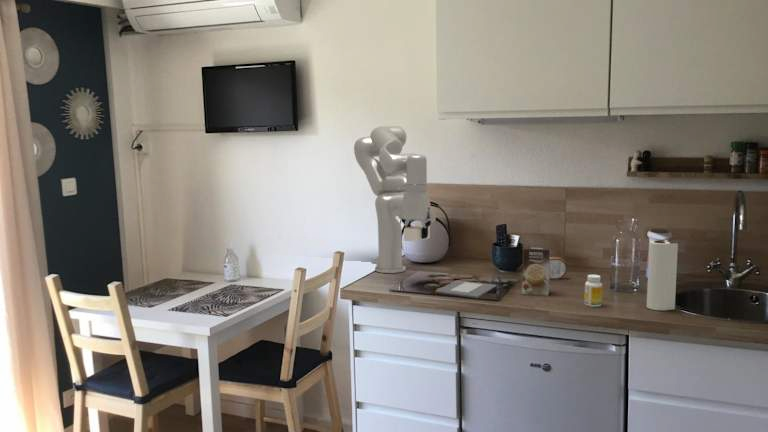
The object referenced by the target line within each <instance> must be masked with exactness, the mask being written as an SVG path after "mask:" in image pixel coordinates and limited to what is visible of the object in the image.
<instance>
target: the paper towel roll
mask: <svg viewBox="0 0 768 432" xmlns="http://www.w3.org/2000/svg"><path fill="white" fill-rule="evenodd" d="M678 248H679V243H678V242H677V243H676V242H675V243H671V242H669V241H664V240H650V241H649V242H648V263H647V264H648V267H647V290H646V293H647V294H646V308H647V309H649V310H653V311H670V310H675V309H676V292H677V291H676V289H677V272H678V271H677V268H678V253H679V252H678Z"/></svg>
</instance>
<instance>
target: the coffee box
mask: <svg viewBox="0 0 768 432" xmlns="http://www.w3.org/2000/svg"><path fill="white" fill-rule="evenodd" d="M522 253H523V255H522V286H521V294H522V295H530V296H531V295H534V296H545V297H546V296H549V293H550V279H549V273H550V257H551V247H550V246H542V245H541V246H537V245H524V246H523V250H522Z"/></svg>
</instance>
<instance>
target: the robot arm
mask: <svg viewBox="0 0 768 432" xmlns="http://www.w3.org/2000/svg"><path fill="white" fill-rule="evenodd" d="M406 142H407V133H406V131H405V130H404V128H403V127H401V126H397V125H395V126H393V125H391V126H388V125H386V126H384V125H383V126H378V127H375V128H374V129H373V130H372V131H371V133H370V136H363V137H360V138H357V140H356V141H355V142H354V145H353V146H354V147H353V150H354V151H353V152H354V153H353V154H354V157H355V160H356V162H357V164H358V165H359V167H360V169H361V170H362V171H363V172H364V175H365V176H366V180H367V181H368V183H369V186H370V189H371V191H372V193H373V194H374V195H375V196H376V199H375V201H374V205H375V212H376V219H377V233H378V234H377V236H378V237H377V239H378V241H377V242H378V243H377V244H378V245H377V246H378V258H374V257H373V258H372V259H371V260H370V261H371V263H370V264H373V265H376V266H375V267H374V271H376V272H377V273H382V274H397V273H402V272H403V273H404V272H405V271H406V270H407V267H406V265H403V246H402V245H403V243H402V242H403V237H402V233H403V232H402V229H403V228H402V225H401V223H402V224H403V225H404V228H406V227H412V226H413V225H412V222H413V221H421V224H422V226H423V228H422V239H425V238H427V236H428V227H429V226H430V227H431V224H433V222H435V221H436V219H437V218H436V216H435V215H434V214H433V212H432V209H431V199H430V194H429V192H427V191H428V179H427V178H428V176H427V175H428V174H427V173H428V171H427V165H428V163H427V157H426V155H423V154H418V153H402V150H403V147H404V146H405V144H406ZM375 157H376V158H375ZM377 157H378V159H377ZM397 217H398V219H399V220H400V221H401V223H400V222H399V220H398V219H397ZM425 240H426V239H425Z"/></svg>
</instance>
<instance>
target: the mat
mask: <svg viewBox="0 0 768 432" xmlns="http://www.w3.org/2000/svg"><path fill="white" fill-rule="evenodd" d="M496 286H497V287H498V284H493V283H492V284H491V283H483V282H475V281H468V280H461V279H460V280H459V279H456V280H454V281H452V282H450V283H449V284H446V285H444V286H442V287H439V288H438V289H436V290H434V292H435V293H436V294H437V293H438V294H443V295H451V296H459V297H468V298H474V299H479V298H480V297H482V296H484V295H485V294H487V293H489V292H490V291H492V290H494V289H495V288H494V287H496ZM497 287H496V288H497ZM493 288H494V289H493ZM491 289H492V290H491ZM488 291H489V292H488Z"/></svg>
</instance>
